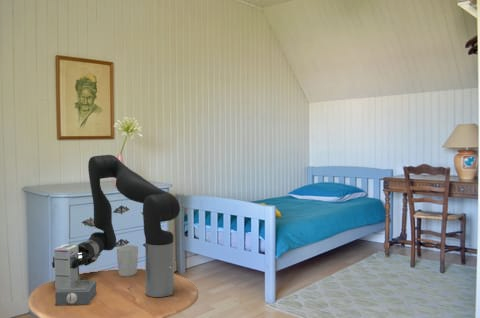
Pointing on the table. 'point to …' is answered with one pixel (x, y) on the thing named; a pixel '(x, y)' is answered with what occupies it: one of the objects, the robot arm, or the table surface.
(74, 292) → the scale
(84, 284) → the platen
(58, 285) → the syrup box
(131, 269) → the white cup
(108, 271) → the table surface
